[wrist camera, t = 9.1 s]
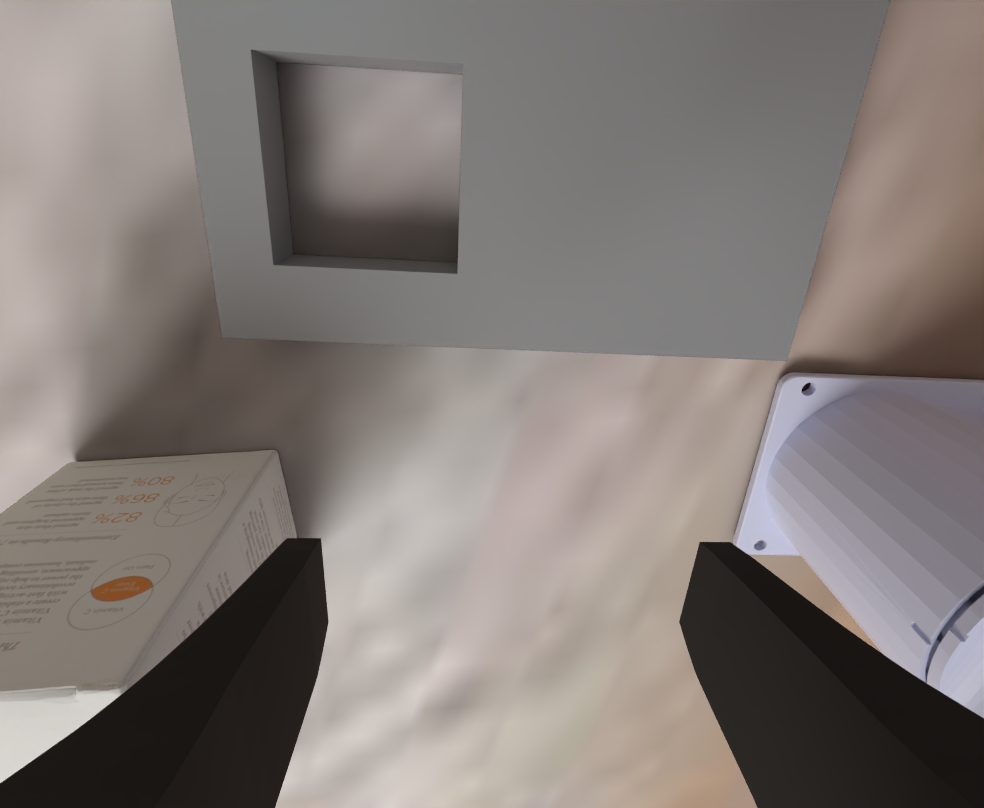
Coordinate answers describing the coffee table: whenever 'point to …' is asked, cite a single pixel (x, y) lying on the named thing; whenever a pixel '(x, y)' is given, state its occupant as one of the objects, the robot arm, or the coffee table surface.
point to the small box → (120, 578)
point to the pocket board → (548, 169)
